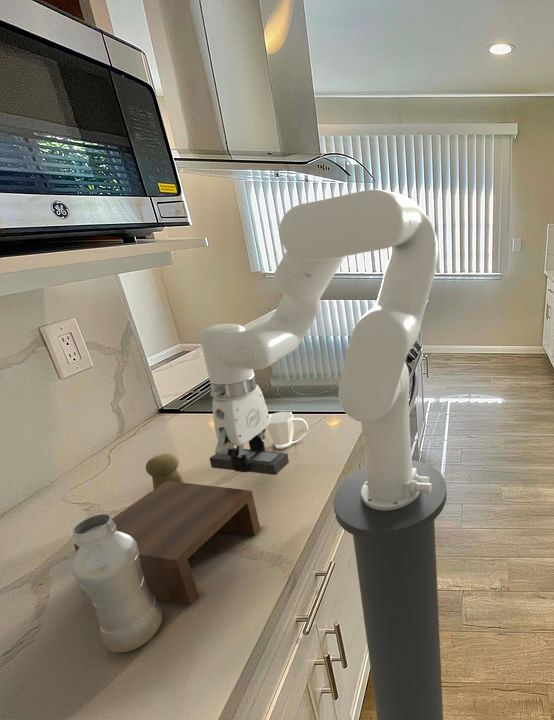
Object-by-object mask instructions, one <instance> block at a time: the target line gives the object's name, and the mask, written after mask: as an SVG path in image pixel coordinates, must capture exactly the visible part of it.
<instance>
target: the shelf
mask: <svg viewBox="0 0 554 720" xmlns="http://www.w3.org/2000/svg"><path fill="white" fill-rule="evenodd" d="M257 512H258V511H257V507H256V504H255V499H254V494H253V491H252V490H251V489H242V488H241V489H240V488H234V487H224V486H218V485H217V486H216V485H207V484H200V483H199V484H198V483H190V482H185V483H182V482H173V481H166V482H164V483H163V484H161V485H160V486H158V487H157V488H156V489H154V488H153V490H151V491H150V492H148V493H147V494H145V495H144V496H142V497H141V498H139V499H138V500H137V501H135V502H134V503H133V504H131V505H128V507H127V508H124V510H122V511H120V512H119V513H118V514H116V515H115V516H113V517H112V520H113V522H114V523H115V524H116V531H119V532H122V533H125V534H127V535H129V536H131V537H132V538H133V539H134V540H135V541H136V542H137V546H138V552H139V559H140V566H141V569H142V573H143V576H144V580H145V582H146V584H147V586H148V588H149V590H150V591H151V593H152V595H153V596H154V597H155V598H156V599H157V600H159V601H166V602H171V603H177V604H178V603H179V604H183V605H190V606H191V605H192V604H193V603H194V602H195V601H196V600H197V599H198V598H199V597H200V594H199V591H198V588H197V585H196V581H195V578H194V575H193V573H192V572H193V571H192V569H191V566H190V563H189V560H188V559H189V558H190V557H191V556H193V555H194V554H195V552H197V551H198V550H199V549H200V548H201V547H202V546H203V545H204V544H205V543H206V542H207V541H209V540H210V539H211V537H213V536H214V535H215V534H216V533H217V532H219V531H220V532H228V533H236V534H242V535H251V536H256V535H257V534H258V533H259V532H260V531H261V525H260V521H259V516H258V513H257ZM73 547H74V550H75V551H76V552H77V551H78V549H79V546H77V545H76V543H74V544H73ZM76 552H75V553H76Z"/></svg>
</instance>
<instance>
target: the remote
mask: <svg viewBox="0 0 554 720" xmlns="http://www.w3.org/2000/svg"><path fill="white" fill-rule="evenodd" d="M234 450H237V447H234ZM243 454H244V455H246V456H247V460H248V466H249V471H248V472H247V473H254V474H255V473H256V474H264V475H271V476H276V475H277V474H278V473H280V472H281V471H282V470H283V469H284V468H285V467H286V466H287V465H288V464H289V463H290V460H289V456H288V453H287V452H278V451H268V450H265V451H261V450H251V449H250V448H243ZM209 463H210V467H211V468H212V469H221V470H229V471H234V469H233V464H232V460H231V457H230V456H227V455H224V454H216V453H215V454H213V455H212V456H210V457H209Z"/></svg>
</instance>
